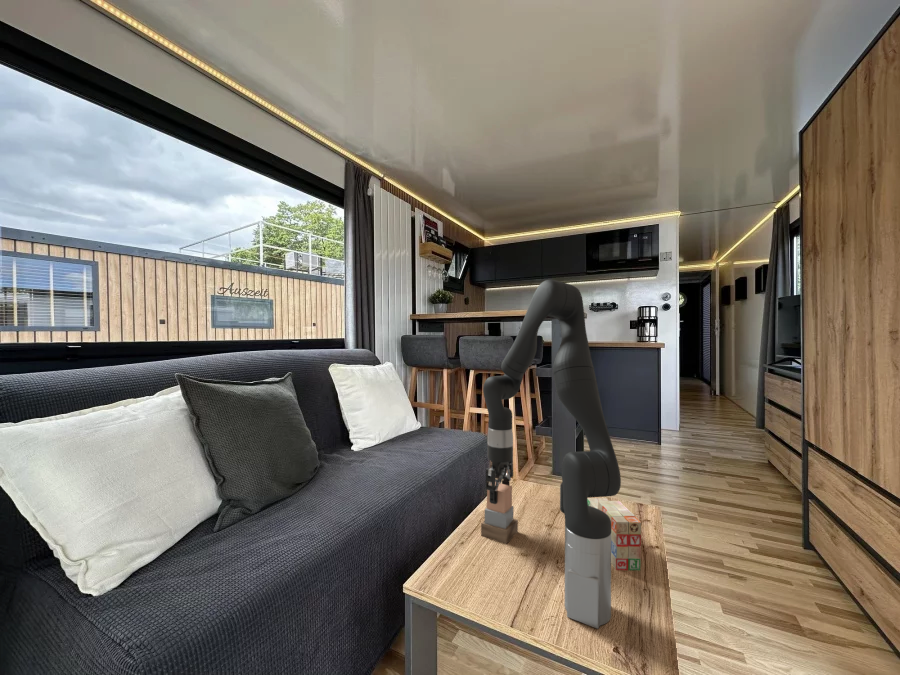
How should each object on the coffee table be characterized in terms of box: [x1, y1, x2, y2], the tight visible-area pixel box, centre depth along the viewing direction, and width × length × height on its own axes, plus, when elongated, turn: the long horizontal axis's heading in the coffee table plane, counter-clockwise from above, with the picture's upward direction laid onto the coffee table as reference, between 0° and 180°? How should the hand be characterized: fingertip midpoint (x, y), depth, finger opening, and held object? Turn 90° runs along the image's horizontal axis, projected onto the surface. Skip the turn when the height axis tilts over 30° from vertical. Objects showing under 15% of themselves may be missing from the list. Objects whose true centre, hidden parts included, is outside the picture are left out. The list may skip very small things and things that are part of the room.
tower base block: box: [480, 518, 519, 545], centre depth 110 cm, size 8×8×4 cm
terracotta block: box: [486, 483, 513, 513], centre depth 111 cm, size 6×6×6 cm
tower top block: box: [484, 505, 514, 529], centre depth 110 cm, size 6×6×4 cm
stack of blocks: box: [587, 497, 642, 571], centre depth 104 cm, size 21×6×12 cm, turn 179°
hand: (499, 498), depth 111 cm, fingers open, 8 cm apart
